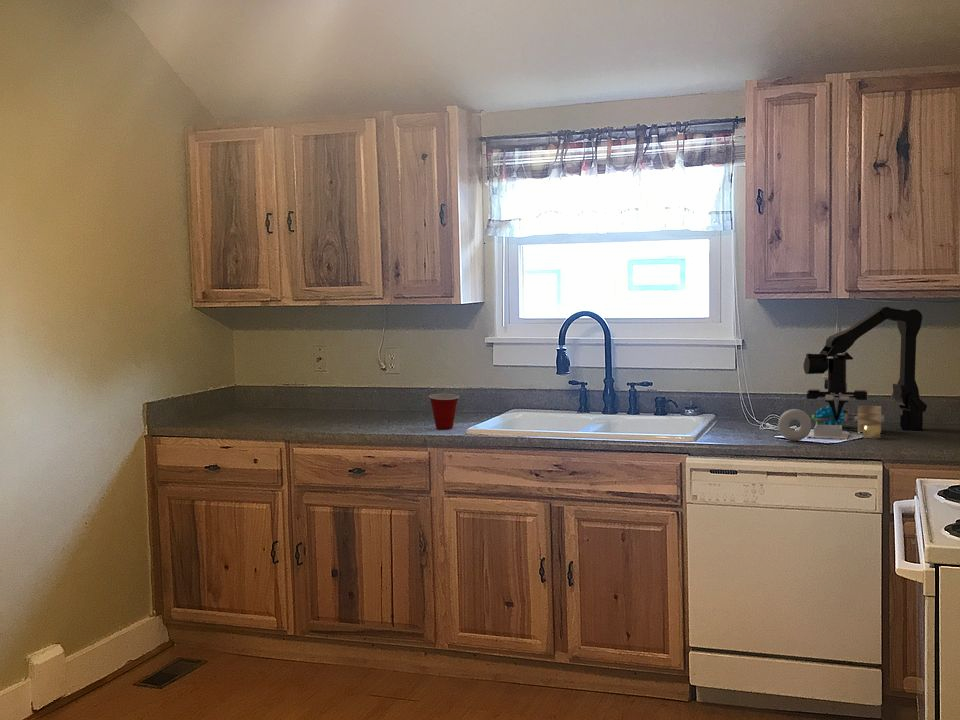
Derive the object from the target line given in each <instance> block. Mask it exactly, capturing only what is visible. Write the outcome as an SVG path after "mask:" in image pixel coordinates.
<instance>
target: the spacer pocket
mask: <svg viewBox="0 0 960 720" xmlns="http://www.w3.org/2000/svg"><path fill="white" fill-rule="evenodd" d="M848 435H850V432H847V431H846V432H844V431H843V425H841V424H835V425H829V424H828V425H824V424H818V425H816V424H815V425H814V427H813V430H811V431H810V433H809V434H808V435H807V436H806V438H807V437H815V438H814V439H818V438H834V439H833V440H845V439H847V438H849V436H848ZM816 437H817V438H816ZM847 440H848V439H847Z"/></svg>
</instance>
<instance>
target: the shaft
mask: <svg viewBox="0 0 960 720" xmlns="http://www.w3.org/2000/svg"><path fill="white" fill-rule="evenodd" d="M843 410H844V412H843V413H844V421H843V425H844V426H849V425H850V422H858V413H850V410H849V409H843ZM881 423H885V414H881Z"/></svg>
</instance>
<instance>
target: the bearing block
mask: <svg viewBox="0 0 960 720" xmlns="http://www.w3.org/2000/svg"><path fill="white" fill-rule="evenodd" d="M857 414H858V421H857V433H858V432H863V425H866V424H874V425H880V433H881V434H882V422H881V415H882V406H880V405H879V406H878V405H858V407H857Z"/></svg>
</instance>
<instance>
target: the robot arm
mask: <svg viewBox="0 0 960 720" xmlns="http://www.w3.org/2000/svg"><path fill="white" fill-rule="evenodd" d="M886 320H889V321H893V322H896V325H897V329H898V332H899V334H900V356H899V357H900V361H899V379H898V381H897V383H893V384H892V390H893V391H892V394H891V396H892V397H893V398H894V402H895V403H896V404H898V406H899V409H900V410H901V411H902V412H901V413H900V414H899V416H900V417H899V420H900V421H899V426H900V428H901V430H904V431H905V430H908V431H909V430H910V431H911V430H912V431H924V427H923V426H924V425H923V424H924V413H925V412H926V410H927V409H928V408H927V407H928V405H927V404H926V403H925V402H924V401H923V400H922V399H921V398H920V390H919V387H918V384H917V381H916V359H917V358H916V355H917V336H918V334H919V332H920V330H921V328H922V327H921V326H922V322H923V314H922V313H921V311H919V310H918V309H916V308H903V309H897V308H893V307H889V306H879V307H878V308H877V309H876V310H874V311H873V312H872V313H870V314H868V315H867V316H866V317H865V316H864V318H863V319H860V321H858V322H856V323H855V324H853V325H852V326H851V327H849V328H846V329H844V330H842V331H838V332H837V333H833V334H832V335H830V336H828V337H827V338H826V341H825V345H824V346H823V347H822V349H821V350H820V352H819V353H806V354H805V358H804V363H803V372H804V374H805V375H823V374H825V373H826V372H827V378H826V379H824V385H823V386H824V390H827V391H821V388H819V389H818V388H817V389H816V388H809V389H808V390H807V391H806V399H807V400H816V399H819V398H824V402H826V403H827V404H829V405H828V406H830V408H831V409H832V411H833V414H834V417H835V420H836V421H838V420H839V416H840V413H841V410H842V409H843V407H844V405H845V403H849V401H850V398H854V399H855V400H857V401H861V400H862V401H867V400H868V390H866V389H854V391H848V384H847V360H849V361H850V360H853V359H854V357H853V356H851V355H850V354H849V353H848V352H847V351H848V350H849V349H851V347H852V346H853V345H854V343H856V342H857V340H858V339H859V338H860V337H862V336H864V335H865V334H866V333H869V332H870V331H871V330H872V329H874V328H876V327H877V326H879V325H880V324H882V323H883V322H885V321H886ZM836 398H839V399H838V404H836ZM836 406H837V407H838V410H836ZM841 414H842V413H841Z"/></svg>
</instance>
